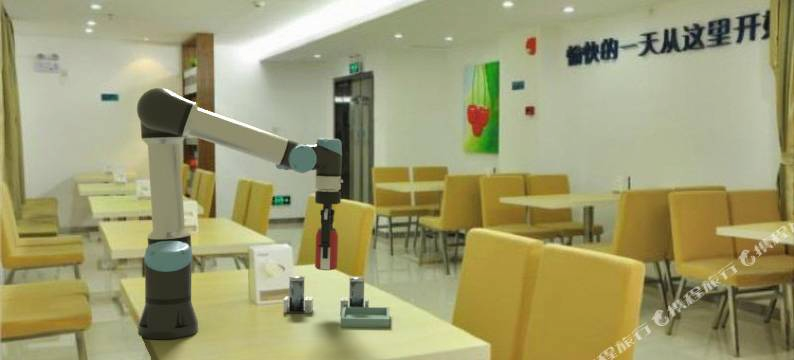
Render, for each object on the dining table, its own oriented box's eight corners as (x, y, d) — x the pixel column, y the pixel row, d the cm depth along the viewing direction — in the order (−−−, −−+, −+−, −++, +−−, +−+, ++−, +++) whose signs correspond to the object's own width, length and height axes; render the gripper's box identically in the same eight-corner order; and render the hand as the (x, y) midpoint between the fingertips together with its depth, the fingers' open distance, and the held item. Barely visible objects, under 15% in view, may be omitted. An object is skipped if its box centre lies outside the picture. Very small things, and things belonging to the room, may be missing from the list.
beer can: (333, 271, 207) (334, 230, 206) (312, 269, 208) (313, 229, 207) (339, 267, 213) (340, 228, 212) (318, 266, 214) (319, 227, 214)
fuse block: (368, 314, 209) (368, 279, 208) (283, 313, 209) (283, 278, 208) (368, 310, 214) (369, 276, 214) (285, 309, 214) (286, 275, 213)
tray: (389, 327, 195) (389, 319, 195) (340, 326, 195) (340, 318, 195) (389, 315, 209) (389, 307, 208) (343, 314, 208) (343, 306, 208)
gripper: (338, 193, 200) (336, 273, 201) (342, 188, 219) (340, 261, 220) (312, 192, 199) (310, 272, 201) (318, 187, 219) (316, 261, 220)
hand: (326, 266), depth 211 cm, fingers closed on beer can, 7 cm apart
